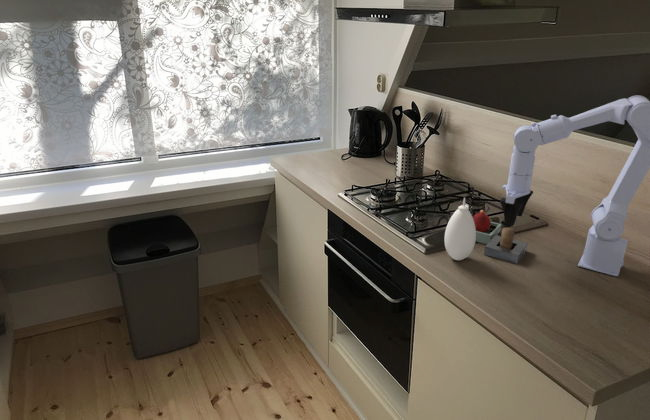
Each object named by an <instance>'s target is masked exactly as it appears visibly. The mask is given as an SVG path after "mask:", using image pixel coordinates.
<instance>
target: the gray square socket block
mask: <svg viewBox="0 0 650 420" xmlns="http://www.w3.org/2000/svg"><path fill="white" fill-rule="evenodd" d="M500 241H501V235H495V236H494V237H493V238H492V240H491V241H490V242H489V243H488V244H485V246H484V250H483V255H484V256H488V257H492V258H495V259H498V260H502V261H506V262H509V263H514V264H516V265H517V264H518V263H519V262H520V261H521V259H522V258H523V256H524V255H525V254H526V252H527V249H528V244H529V243H528V242H525V241H521V240H518V239H515V238H513V244H512V250H510V249H507V248H503V247H500Z"/></svg>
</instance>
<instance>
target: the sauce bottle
mask: <svg viewBox="0 0 650 420" xmlns="http://www.w3.org/2000/svg"><path fill="white" fill-rule="evenodd" d="M469 209H470V207H469V206H468V205H466V197H463V201H462V204H461V205H459V206H458V207H457V209H456V210H455V211H454V212H453V213H452V215H451V217H450V218H449V221H448V223H447V225H446V227H445V231H444V247H445V251H446V253H447V254H448V255H449V256H450V257H451V259H452V260H456V261H463V260H464V259H465V258H468V257H469V256H470V254H471V253H472V252H473V250H474V247H475V244H476V241H475V240H476V229H475V224H474V220H473V216H472V213H471V211H470V210H469Z"/></svg>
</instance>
